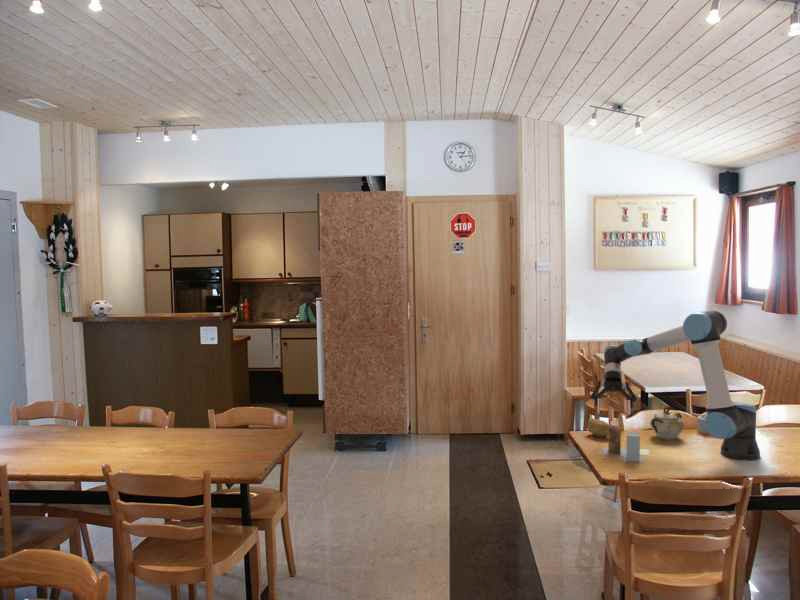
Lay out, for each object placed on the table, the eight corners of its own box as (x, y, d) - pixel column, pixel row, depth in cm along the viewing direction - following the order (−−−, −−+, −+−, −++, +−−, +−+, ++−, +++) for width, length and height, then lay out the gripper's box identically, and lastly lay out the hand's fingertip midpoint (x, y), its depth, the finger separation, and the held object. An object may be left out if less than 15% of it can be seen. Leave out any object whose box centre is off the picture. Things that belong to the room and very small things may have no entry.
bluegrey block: (638, 458, 268) (638, 433, 268) (639, 461, 264) (639, 436, 263) (626, 457, 270) (626, 432, 269) (627, 460, 265) (627, 435, 264)
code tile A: (625, 449, 281) (625, 449, 281) (626, 456, 271) (626, 456, 271) (602, 448, 284) (602, 447, 284) (602, 455, 274) (602, 454, 274)
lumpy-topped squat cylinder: (729, 433, 304) (729, 416, 303) (706, 435, 301) (706, 418, 300) (713, 427, 314) (714, 411, 313) (691, 429, 311) (692, 412, 310)
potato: (601, 441, 294) (601, 425, 294) (582, 433, 307) (582, 418, 307) (617, 438, 298) (618, 422, 298) (598, 431, 311) (598, 415, 311)
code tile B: (642, 458, 269) (642, 457, 269) (643, 463, 262) (643, 463, 262) (622, 456, 272) (622, 455, 272) (623, 462, 264) (623, 461, 264)
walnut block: (620, 450, 279) (620, 426, 279) (620, 453, 275) (620, 429, 274) (608, 449, 281) (608, 425, 280) (608, 453, 276) (608, 428, 275)
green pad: (648, 450, 280) (648, 449, 280) (649, 455, 272) (649, 455, 272) (629, 448, 282) (629, 448, 282) (630, 454, 275) (630, 453, 275)
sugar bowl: (664, 444, 288) (665, 412, 287) (639, 436, 302) (639, 406, 300) (694, 438, 297) (694, 407, 296) (668, 430, 310) (668, 401, 309)
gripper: (639, 379, 298) (642, 418, 285) (585, 377, 305) (585, 415, 292) (640, 371, 293) (643, 410, 280) (586, 368, 300) (585, 406, 287)
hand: (613, 412), depth 286 cm, fingers open, 13 cm apart
